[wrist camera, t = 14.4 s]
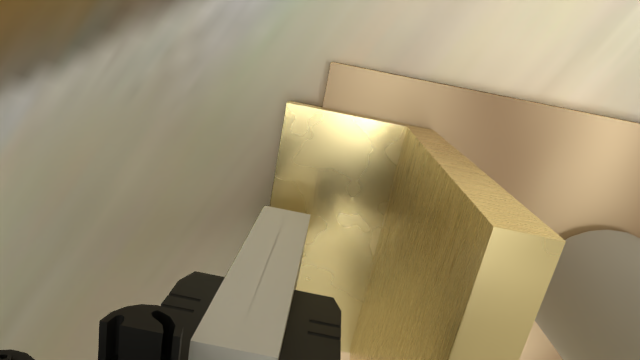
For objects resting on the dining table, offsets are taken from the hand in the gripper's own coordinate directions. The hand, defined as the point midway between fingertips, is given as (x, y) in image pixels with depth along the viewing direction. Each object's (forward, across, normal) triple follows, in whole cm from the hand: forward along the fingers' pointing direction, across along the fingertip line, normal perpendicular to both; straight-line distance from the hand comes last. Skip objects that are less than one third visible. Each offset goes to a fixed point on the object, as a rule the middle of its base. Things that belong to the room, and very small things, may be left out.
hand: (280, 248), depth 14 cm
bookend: (+2, +2, 0) cm, 3 cm away
